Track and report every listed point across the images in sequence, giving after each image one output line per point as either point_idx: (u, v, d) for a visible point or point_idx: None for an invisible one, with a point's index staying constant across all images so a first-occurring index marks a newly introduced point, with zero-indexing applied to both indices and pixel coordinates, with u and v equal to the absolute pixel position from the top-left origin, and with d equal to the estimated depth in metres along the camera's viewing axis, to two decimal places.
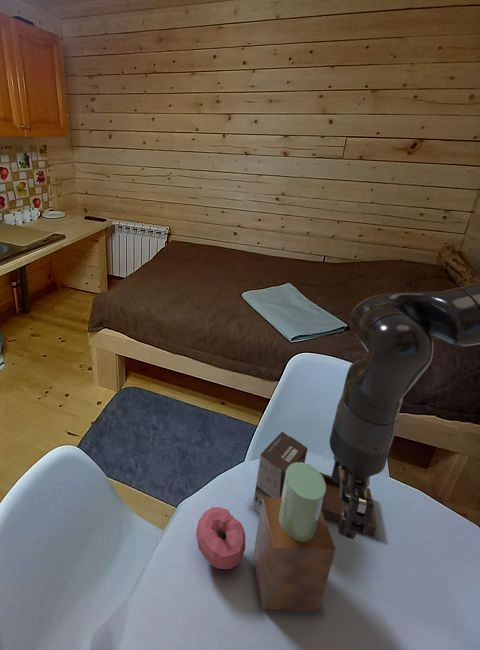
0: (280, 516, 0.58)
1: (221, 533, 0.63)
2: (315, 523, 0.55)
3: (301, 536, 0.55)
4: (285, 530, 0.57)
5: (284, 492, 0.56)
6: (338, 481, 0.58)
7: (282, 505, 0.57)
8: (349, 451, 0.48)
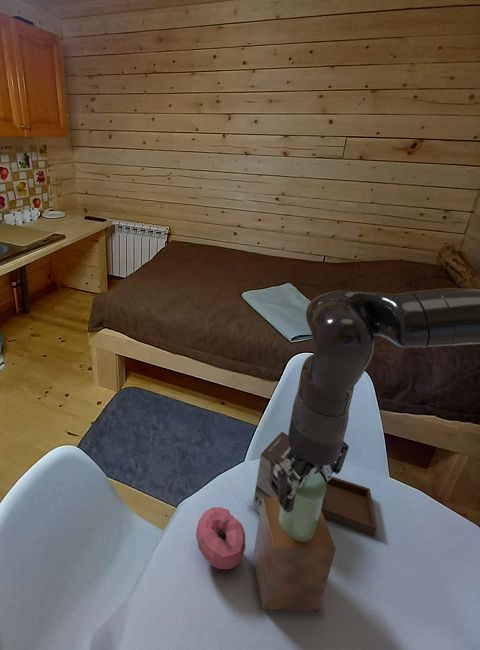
0: (280, 516, 0.58)
1: (221, 533, 0.63)
2: (315, 523, 0.55)
3: (301, 536, 0.55)
4: (285, 530, 0.57)
5: None
6: None
7: None
8: (291, 425, 0.52)
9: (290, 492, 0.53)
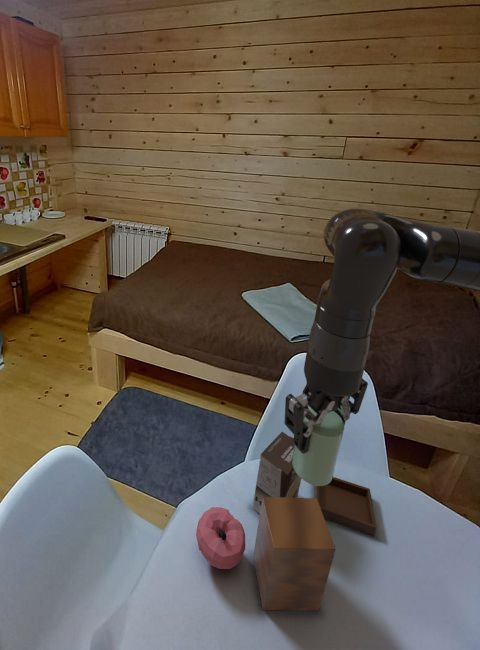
0: (294, 461, 0.55)
1: (221, 533, 0.63)
2: (333, 465, 0.52)
3: (318, 480, 0.52)
4: (300, 475, 0.53)
5: None
6: None
7: (297, 448, 0.54)
8: (307, 357, 0.49)
9: (306, 429, 0.49)
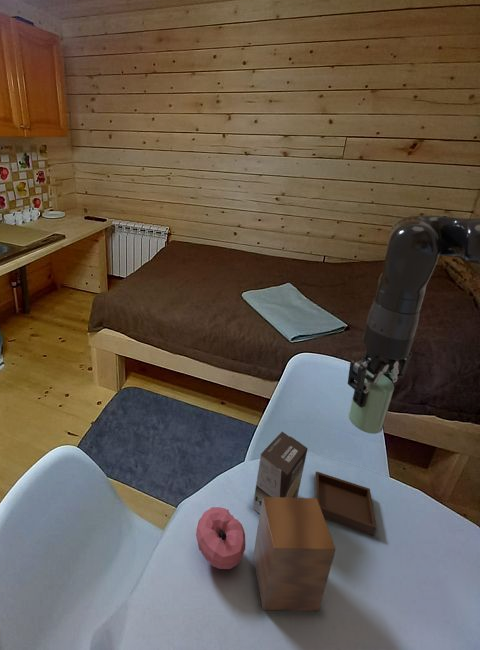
0: (352, 415, 0.69)
1: (221, 533, 0.63)
2: (384, 416, 0.66)
3: (372, 428, 0.66)
4: (357, 425, 0.67)
5: None
6: None
7: (354, 405, 0.68)
8: (367, 330, 0.63)
9: (366, 387, 0.63)
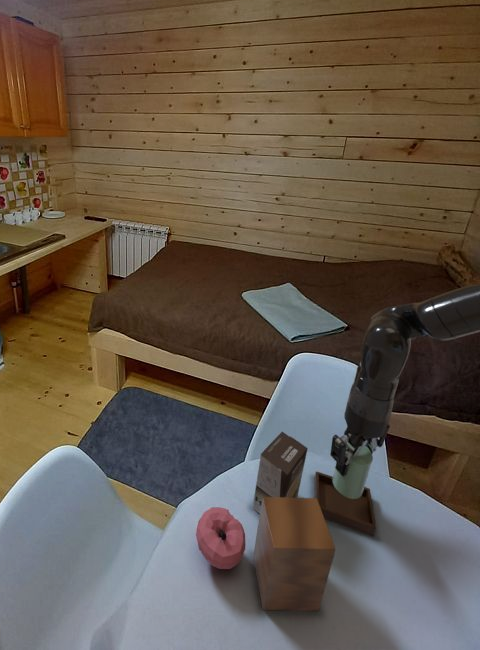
0: (335, 480, 0.75)
1: (221, 533, 0.63)
2: (364, 484, 0.72)
3: (353, 494, 0.72)
4: (339, 490, 0.74)
5: None
6: None
7: (337, 471, 0.74)
8: (347, 408, 0.69)
9: (347, 459, 0.69)
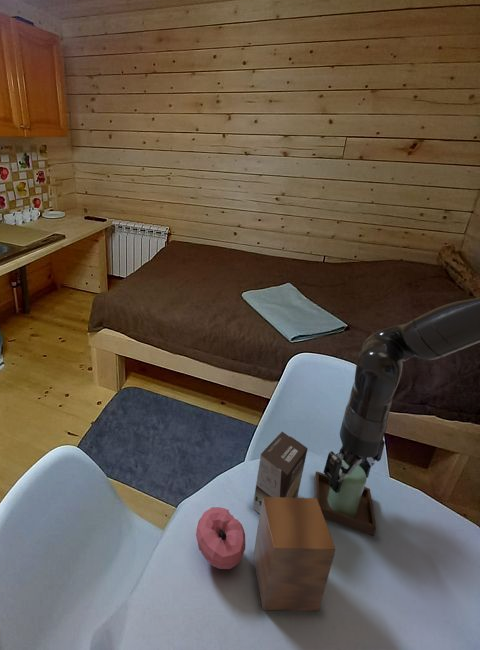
0: (330, 499, 0.77)
1: (221, 533, 0.63)
2: (358, 504, 0.74)
3: (347, 514, 0.74)
4: (334, 510, 0.76)
5: None
6: None
7: (332, 491, 0.76)
8: (342, 427, 0.71)
9: (340, 477, 0.71)
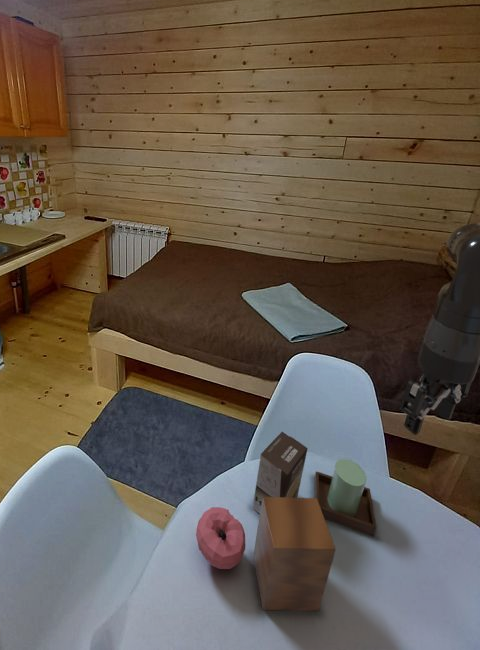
0: (330, 499, 0.77)
1: (221, 533, 0.63)
2: (358, 504, 0.74)
3: (347, 514, 0.74)
4: (334, 510, 0.76)
5: (334, 481, 0.75)
6: (441, 414, 0.62)
7: (332, 491, 0.76)
8: (424, 350, 0.56)
9: (422, 412, 0.56)
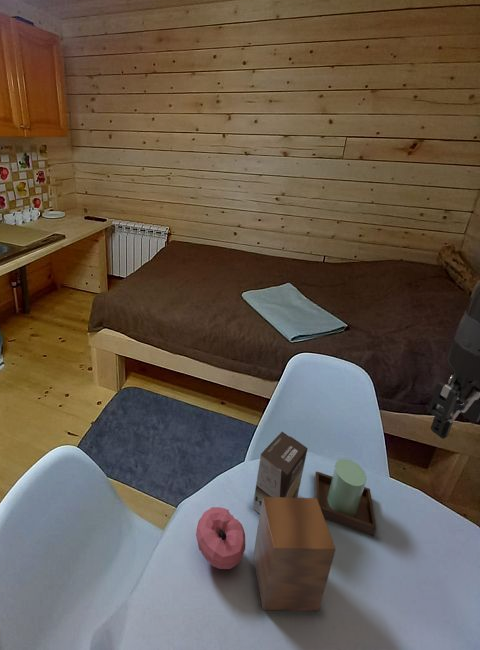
0: (330, 499, 0.77)
1: (221, 533, 0.63)
2: (358, 504, 0.74)
3: (347, 514, 0.74)
4: (334, 510, 0.76)
5: (334, 481, 0.75)
6: (468, 417, 0.59)
7: (332, 491, 0.76)
8: (456, 349, 0.53)
9: (452, 415, 0.53)
